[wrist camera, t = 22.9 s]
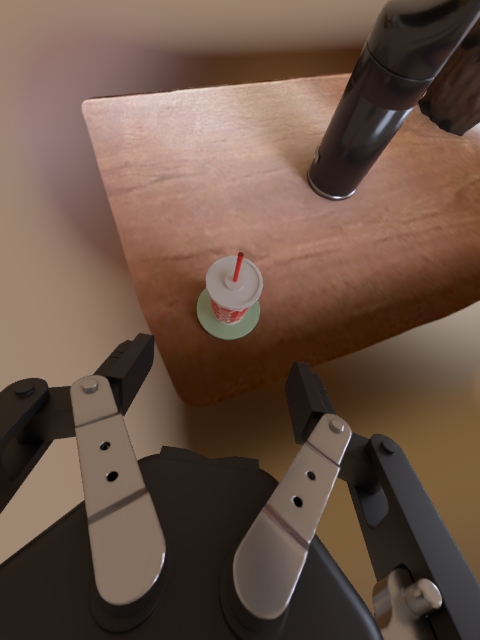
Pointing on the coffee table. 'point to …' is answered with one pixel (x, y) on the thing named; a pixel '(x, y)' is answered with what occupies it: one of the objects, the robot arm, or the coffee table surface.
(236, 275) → the beverage cup
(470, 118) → the owl
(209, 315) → the coaster
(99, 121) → the coffee table surface
